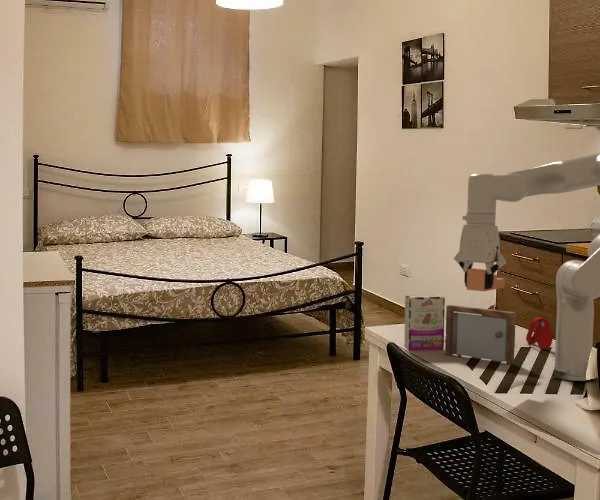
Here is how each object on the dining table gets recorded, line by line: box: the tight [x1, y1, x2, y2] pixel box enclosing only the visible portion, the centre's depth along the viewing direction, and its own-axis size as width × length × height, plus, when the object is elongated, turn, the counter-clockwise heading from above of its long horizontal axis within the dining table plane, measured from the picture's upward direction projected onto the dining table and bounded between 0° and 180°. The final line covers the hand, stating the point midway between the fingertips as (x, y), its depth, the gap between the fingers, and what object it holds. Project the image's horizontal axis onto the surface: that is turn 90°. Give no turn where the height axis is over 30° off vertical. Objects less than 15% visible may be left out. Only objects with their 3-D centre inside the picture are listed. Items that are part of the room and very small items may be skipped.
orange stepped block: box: [466, 268, 506, 292], centre depth 230 cm, size 5×13×6 cm, turn 142°
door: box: [452, 312, 508, 363], centre depth 239 cm, size 17×3×12 cm, turn 52°
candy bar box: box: [403, 294, 446, 351], centre depth 252 cm, size 11×5×16 cm, turn 101°
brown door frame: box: [444, 304, 517, 366], centre depth 239 cm, size 20×2×14 cm, turn 52°
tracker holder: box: [525, 316, 553, 350], centre depth 257 cm, size 12×4×10 cm, turn 16°
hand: (478, 286), depth 226 cm, fingers closed on orange stepped block, 5 cm apart
